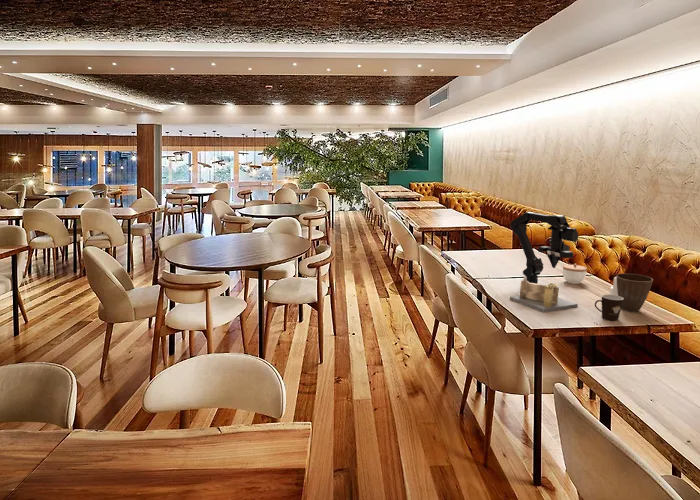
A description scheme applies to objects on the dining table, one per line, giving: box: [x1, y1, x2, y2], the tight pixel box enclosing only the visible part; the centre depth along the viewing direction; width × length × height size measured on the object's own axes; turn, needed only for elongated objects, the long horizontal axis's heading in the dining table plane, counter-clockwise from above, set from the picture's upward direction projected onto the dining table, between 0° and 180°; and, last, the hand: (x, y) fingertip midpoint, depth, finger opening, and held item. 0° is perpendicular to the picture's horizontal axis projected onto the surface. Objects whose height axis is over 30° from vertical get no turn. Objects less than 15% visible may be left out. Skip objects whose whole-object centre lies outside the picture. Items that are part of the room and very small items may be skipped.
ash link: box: [519, 279, 560, 304], centre depth 233 cm, size 18×4×8 cm, turn 51°
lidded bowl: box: [562, 263, 588, 285], centre depth 274 cm, size 13×13×11 cm
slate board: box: [509, 294, 579, 313], centre depth 234 cm, size 22×22×2 cm
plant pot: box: [616, 273, 654, 313], centre depth 224 cm, size 15×15×16 cm
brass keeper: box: [543, 282, 558, 307], centre depth 227 cm, size 3×8×11 cm, turn 141°
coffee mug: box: [594, 294, 624, 322], centre depth 212 cm, size 12×9×10 cm
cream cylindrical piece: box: [609, 276, 618, 296], centre depth 240 cm, size 9×9×12 cm
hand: (553, 267), depth 253 cm, fingers closed
